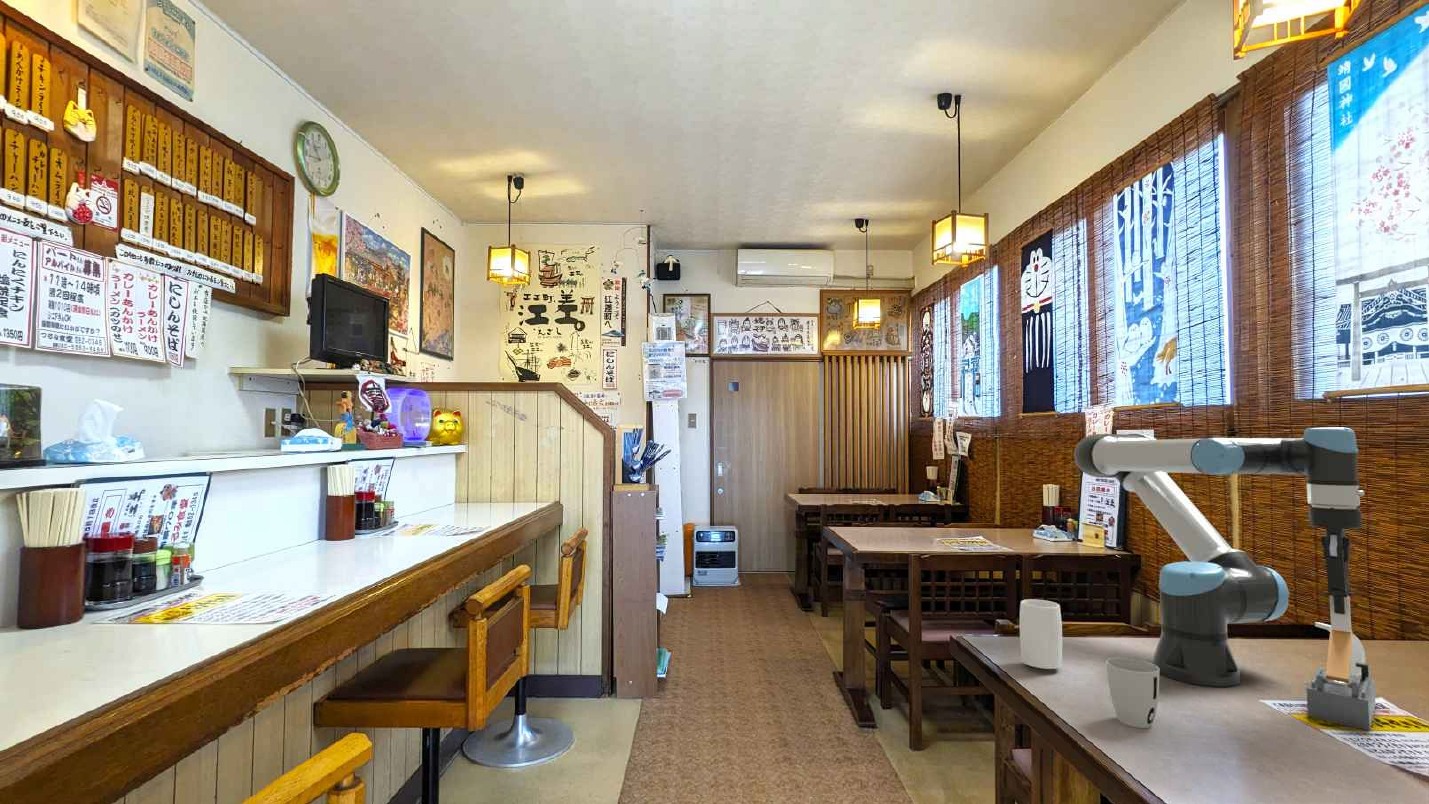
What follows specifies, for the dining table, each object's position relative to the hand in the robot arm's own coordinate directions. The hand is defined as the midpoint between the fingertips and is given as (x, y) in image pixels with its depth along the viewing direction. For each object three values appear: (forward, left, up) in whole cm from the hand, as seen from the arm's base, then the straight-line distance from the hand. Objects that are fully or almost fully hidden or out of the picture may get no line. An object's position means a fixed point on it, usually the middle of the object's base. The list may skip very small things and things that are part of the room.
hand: (1341, 629), depth 127 cm
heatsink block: (-3, -4, -14) cm, 15 cm away
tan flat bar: (-2, -4, -4) cm, 6 cm away
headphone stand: (+6, +13, -14) cm, 20 cm away
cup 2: (-41, -22, -14) cm, 49 cm away
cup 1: (-52, +4, -14) cm, 54 cm away
